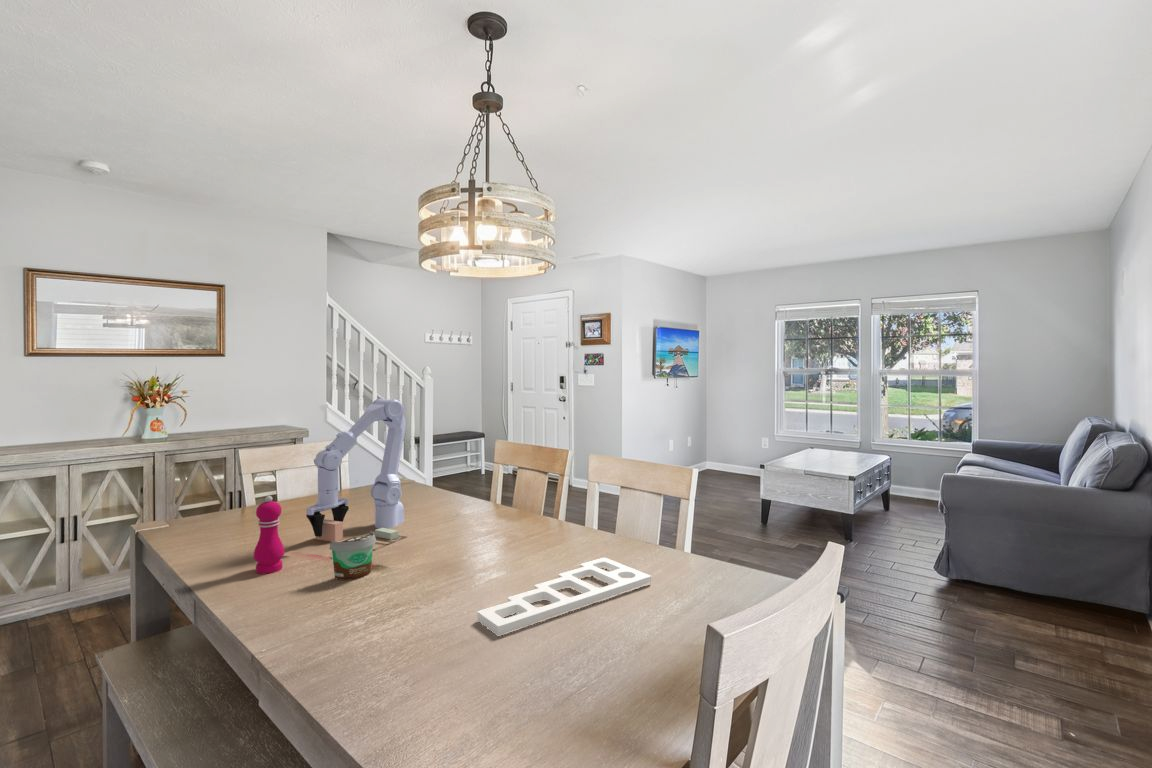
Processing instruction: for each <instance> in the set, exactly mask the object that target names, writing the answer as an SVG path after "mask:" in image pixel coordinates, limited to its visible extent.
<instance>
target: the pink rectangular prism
mask: <svg viewBox="0 0 1152 768" xmlns="http://www.w3.org/2000/svg"><path fill="white" fill-rule="evenodd" d="M343 539H344V521H343V522H340V521H334V519H327V518H324V521H323V527H322V536H321V537H318V536H315V540H319V541H326V542H331V541H334V542H341V541H344V540H343Z"/></svg>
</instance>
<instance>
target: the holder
mask: <svg viewBox="0 0 1152 768" xmlns="http://www.w3.org/2000/svg"><path fill="white" fill-rule="evenodd" d="M579 565H580V566H579V567H578V568H575V569H571V570H567V571H564V572H561V573H558V577H557V578H553V579H551V580H548V581H547V580H546V581H544V582H543V581H542V582H540V583H536V584H534V589H531V590H528V591H524V592H521V593H518V594H515V595H511V596H507V602H504V603H500V604H496V605H493V606H490V607H487V608H483V609H481V610H478V611H477V622H478V621H479V622H480V623H482V624H483V625H485V626H486V627H488V628H489V629H490V630H492V631H493V632H495V633H496V634H497V635H501V634H504V633H506V632H509V631H512V630H515V629H518V628H520V627H524V626H527V625H530V624H532V623H535V622H538V621H540V620H543V619H546V618H548V617H552V616H554V615H557V614H560V613H563V612H566V611H569V610H572V609H575V608H578V607H581V606H584V605H587V604H590V603H593V602H595V601H598V600H601V599H604V598H607V597H610V596H612V595H616V594H619V593H621V592H624V591H627V590H630V589H632V588H635V587H638V586H641V585H643V584H646V583H648V582H651V583H652V575H650V574H648V573H645V572H642V571H641V570H638V569H635V568H633V567H630V566H627V565H625V564H622V563H620V562H618V561H616V560H613V559H610V558H608V557H600V558H597V559H593V560H590V561H586V562H583V563H580V564H579ZM601 566H606V567H608V568H611V569H612V570H613V571H608V570H605V569H600V568H598V567H601ZM586 575H594V576H596V577H598V578H600V579H602V580H604V581H607V582H609V583H611V585H606V586H601V587H597V586H596V585H593V584H591V583H589V582H587V581H585V580H584V579H582V580H581V579H578V578H580V577H583V576H586ZM622 577H631V578H622ZM565 586H571V587H573V588H575V589H577V590H579V591H581V592H583V594H580V593H579V594H577V595H573V596H568V595H566V594H563V593H561V592H560V591H556V589H559V588H562V587H565ZM540 599H547V600H549V601H551V602H553V603H552V604H551V603H549V604H547V605H543V606H539V607H537V606H536V605H535V606H534V605H533V604H530V602H534V601H537V600H540ZM518 612H519V613H520V614H515V615H512V616H509V617H506V618H502V617H503V616H507V615H510V614H512V613H518ZM480 623H479V624H480ZM483 625H482V626H483Z"/></svg>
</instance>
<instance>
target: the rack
mask: <svg viewBox="0 0 1152 768" xmlns="http://www.w3.org/2000/svg"><path fill="white" fill-rule="evenodd" d="M373 533H374V535H375V532H373ZM398 537H401V538H399V539H396V540H389V539H387V540H386V539H383V538H381V539H380V538H376V543H375V545H381V546H379V547H376V548H373V552H375V551H378V550H380V549H383V548H384V547H387V546H389V545H392V544H395V543H397V542H399V541H401V540H404V539H406V538H407V536H404V535H400V534H398ZM377 541H380V542H377ZM383 542H385V543H383ZM386 542H387V543H386Z"/></svg>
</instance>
